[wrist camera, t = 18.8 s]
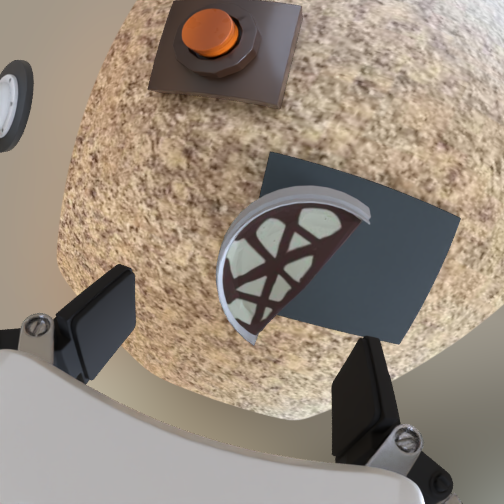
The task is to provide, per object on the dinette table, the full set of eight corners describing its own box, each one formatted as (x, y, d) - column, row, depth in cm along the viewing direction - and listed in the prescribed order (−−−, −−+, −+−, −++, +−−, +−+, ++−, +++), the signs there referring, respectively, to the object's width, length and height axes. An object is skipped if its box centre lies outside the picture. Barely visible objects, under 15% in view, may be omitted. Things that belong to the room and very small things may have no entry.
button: (186, 56, 18) (175, 50, 16) (198, 17, 16) (188, 8, 14) (232, 59, 17) (225, 52, 15) (244, 19, 16) (237, 8, 14)
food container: (294, 144, 22) (286, 143, 13) (350, 188, 23) (376, 216, 14) (219, 248, 28) (177, 300, 18) (269, 284, 28) (249, 349, 19)
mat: (235, 300, 30) (234, 302, 30) (270, 151, 24) (269, 151, 23) (398, 342, 28) (399, 344, 28) (459, 217, 22) (460, 218, 21)
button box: (161, 93, 23) (136, 87, 19) (184, 10, 19) (165, -7, 15) (280, 109, 22) (274, 101, 18) (302, 18, 18) (301, -4, 14)
